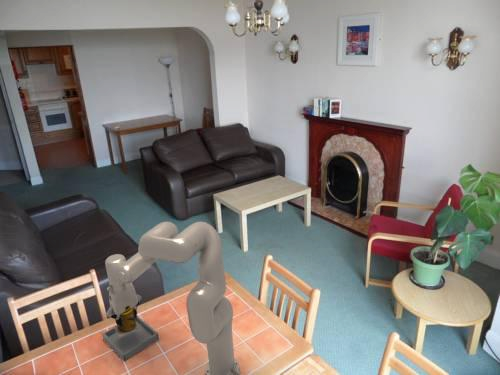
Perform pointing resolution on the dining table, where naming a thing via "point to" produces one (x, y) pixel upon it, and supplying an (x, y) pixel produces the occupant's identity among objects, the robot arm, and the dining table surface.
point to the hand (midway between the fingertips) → (127, 320)
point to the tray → (131, 340)
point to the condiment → (127, 322)
